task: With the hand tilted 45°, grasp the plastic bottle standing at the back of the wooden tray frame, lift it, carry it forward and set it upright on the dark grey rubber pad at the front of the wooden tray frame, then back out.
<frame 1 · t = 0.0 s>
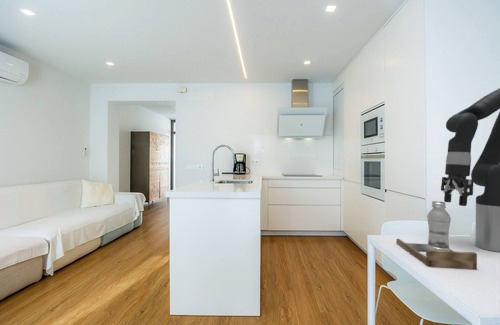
hand: (454, 203, 96), 17 cm above the table, tool pointing down, fingers open, 8 cm apart
plastic bottle: (438, 259, 83), resting in wooden tray frame
wooden tray frame: (431, 254, 87), on the table
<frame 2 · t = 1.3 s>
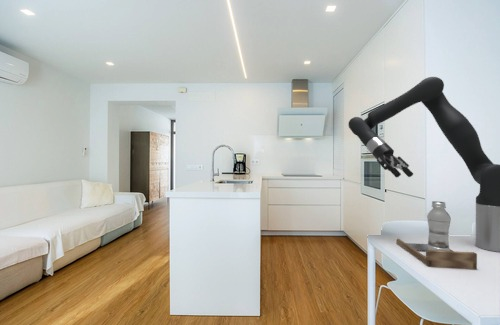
hand: (405, 175, 97), 28 cm above the table, tool tilted 45°, fingers open, 8 cm apart
nothing on the table moved.
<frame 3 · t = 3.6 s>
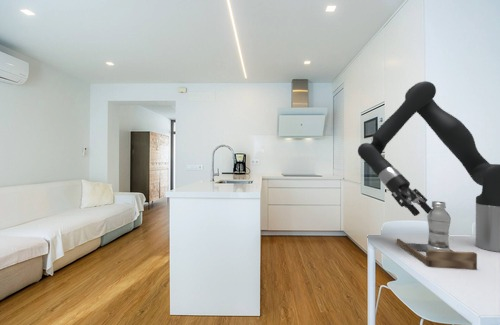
hand: (424, 213, 87), 15 cm above the table, tool tilted 45°, fingers open, 8 cm apart
nothing on the table moved.
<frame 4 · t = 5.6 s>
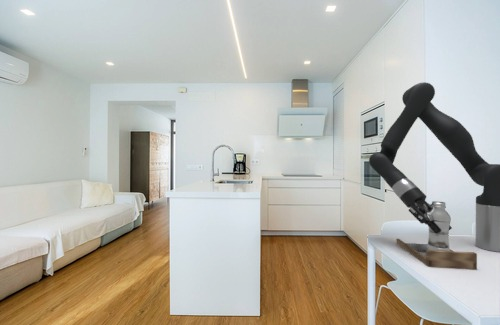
hand: (444, 230, 82), 10 cm above the table, tool tilted 45°, fingers closed on plastic bottle, 6 cm apart
plastic bottle: (438, 259, 83), resting in wooden tray frame, touching gripper
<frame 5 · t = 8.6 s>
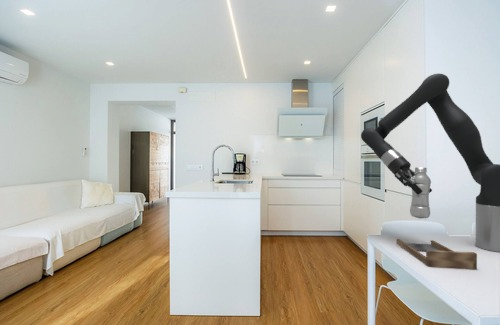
hand: (425, 192, 92), 22 cm above the table, tool tilted 45°, fingers closed on plastic bottle, 6 cm apart
plastic bottle: (419, 218, 94), point 12 cm above the table, touching gripper
when the fingers open (12 cm above the table, at t = 12.0 s): plastic bottle stays where it is, resting on wooden tray frame.
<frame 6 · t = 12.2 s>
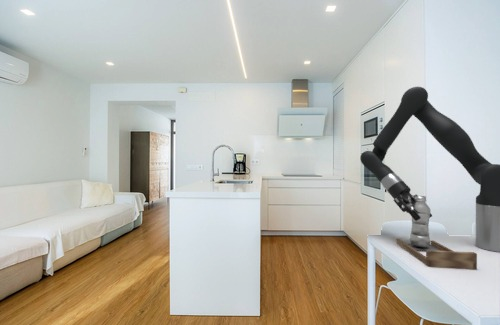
hand: (424, 218, 93), 12 cm above the table, tool tilted 45°, fingers open, 7 cm apart
plastic bottle: (419, 247, 94), resting on wooden tray frame
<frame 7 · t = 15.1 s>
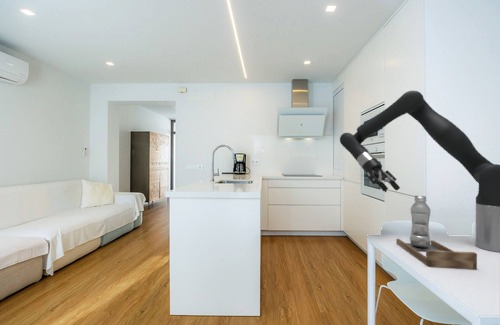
hand: (392, 189, 104), 22 cm above the table, tool tilted 45°, fingers open, 8 cm apart
nothing on the table moved.
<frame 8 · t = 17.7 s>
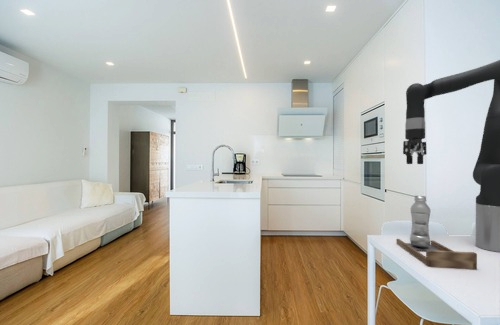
hand: (414, 164, 109), 33 cm above the table, tool pointing down, fingers open, 8 cm apart
nothing on the table moved.
at the end: plastic bottle inside the target area (0.3 cm from its centre), resting on wooden tray frame; plastic bottle tilted 0°; the gripper is holding nothing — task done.
